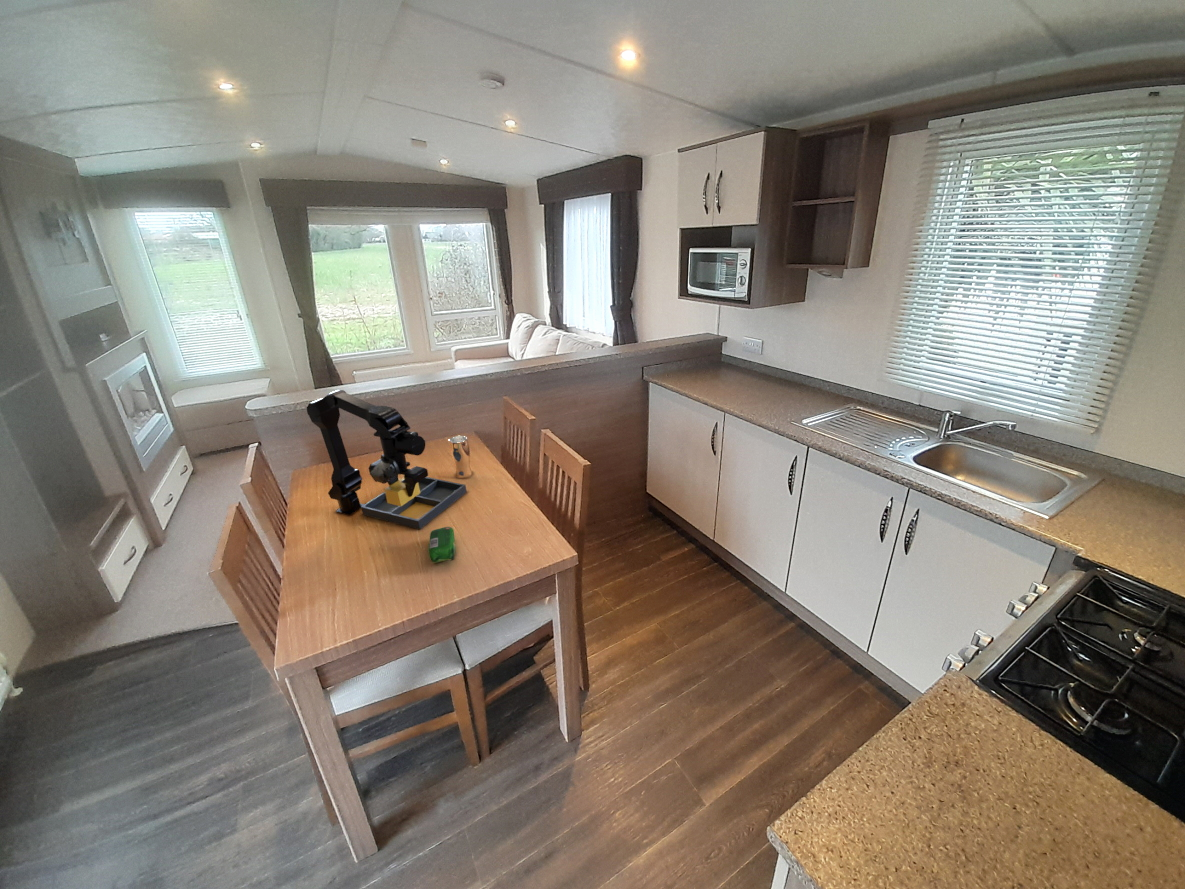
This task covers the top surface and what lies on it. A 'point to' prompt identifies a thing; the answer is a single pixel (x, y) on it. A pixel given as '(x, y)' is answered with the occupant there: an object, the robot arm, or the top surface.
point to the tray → (417, 503)
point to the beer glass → (461, 456)
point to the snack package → (442, 544)
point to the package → (399, 493)
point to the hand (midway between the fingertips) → (403, 494)
